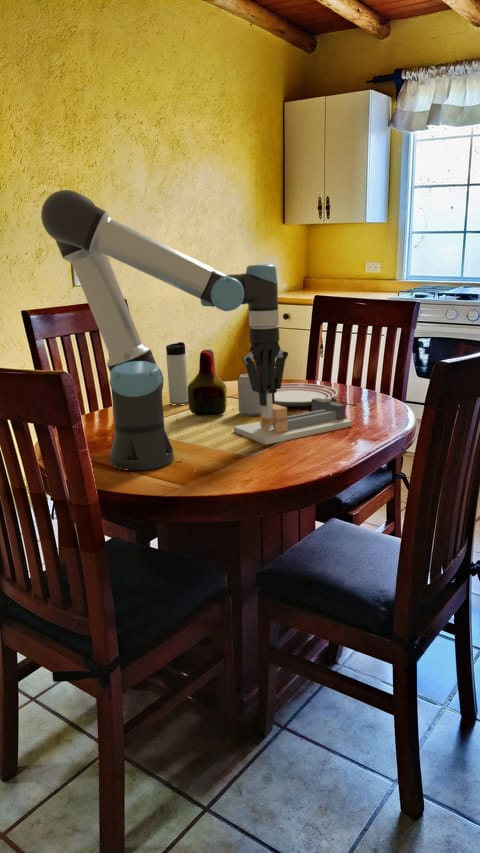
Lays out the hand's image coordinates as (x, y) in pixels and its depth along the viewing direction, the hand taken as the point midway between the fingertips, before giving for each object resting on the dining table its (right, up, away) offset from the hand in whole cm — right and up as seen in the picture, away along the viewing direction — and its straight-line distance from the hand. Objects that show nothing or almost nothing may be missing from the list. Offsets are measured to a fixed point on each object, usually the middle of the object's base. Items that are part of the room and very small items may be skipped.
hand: (267, 417), depth 175 cm
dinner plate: (+11, +6, +44) cm, 45 cm away
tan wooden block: (+2, -3, +3) cm, 5 cm away
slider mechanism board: (+7, -3, +9) cm, 12 cm away
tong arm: (+9, -2, +8) cm, 12 cm away
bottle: (-17, +1, +29) cm, 33 cm away
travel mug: (-27, +5, +46) cm, 53 cm away
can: (-4, +1, +28) cm, 29 cm away
